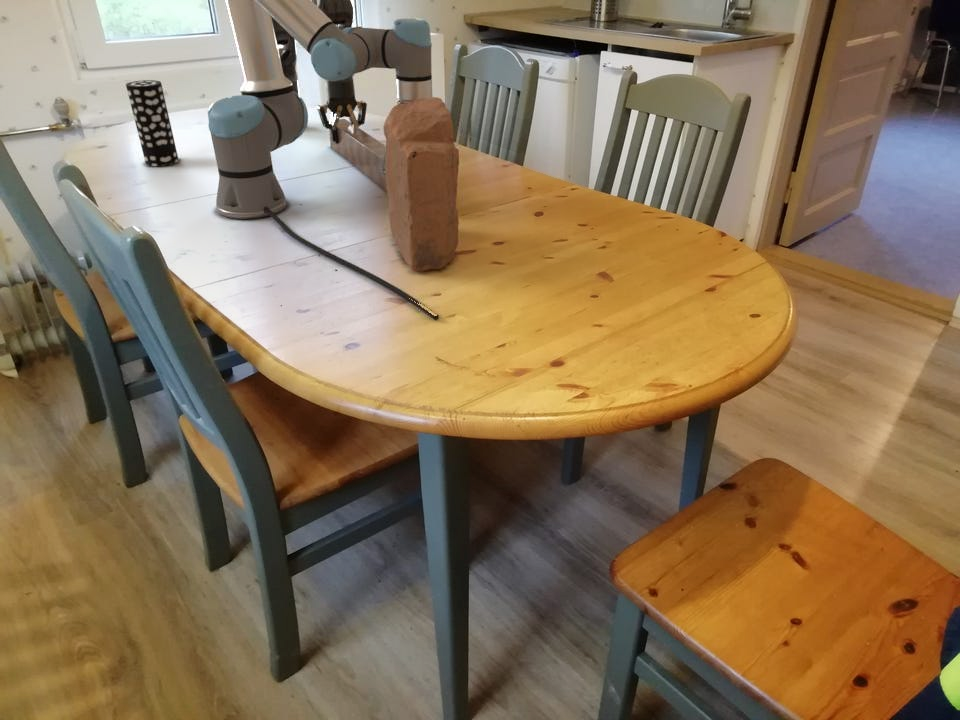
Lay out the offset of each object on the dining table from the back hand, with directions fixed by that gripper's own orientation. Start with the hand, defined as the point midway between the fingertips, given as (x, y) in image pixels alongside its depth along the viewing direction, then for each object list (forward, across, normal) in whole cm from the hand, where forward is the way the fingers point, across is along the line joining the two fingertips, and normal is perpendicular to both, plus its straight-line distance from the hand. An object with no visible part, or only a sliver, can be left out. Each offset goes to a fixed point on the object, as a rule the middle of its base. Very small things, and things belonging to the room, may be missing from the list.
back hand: (345, 141), depth 195 cm
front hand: (+2, 0, +50) cm, 50 cm away
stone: (+3, +9, +73) cm, 73 cm away
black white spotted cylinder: (-7, +48, -13) cm, 50 cm away
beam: (+3, 0, +25) cm, 25 cm away
